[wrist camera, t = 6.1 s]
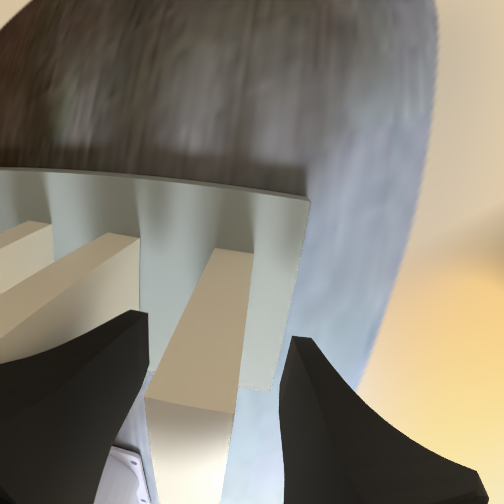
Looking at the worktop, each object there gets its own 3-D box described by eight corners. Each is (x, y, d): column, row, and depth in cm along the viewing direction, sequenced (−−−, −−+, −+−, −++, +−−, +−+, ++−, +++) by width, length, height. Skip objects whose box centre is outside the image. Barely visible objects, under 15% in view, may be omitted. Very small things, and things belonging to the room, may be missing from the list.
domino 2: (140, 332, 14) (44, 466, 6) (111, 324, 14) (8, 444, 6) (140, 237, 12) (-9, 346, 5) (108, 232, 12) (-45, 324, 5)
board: (270, 375, 16) (270, 391, 14) (-44, 292, 16) (-54, 299, 14) (307, 196, 13) (310, 201, 12) (-57, 167, 13) (-70, 170, 12)
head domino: (240, 348, 14) (217, 515, 6) (206, 343, 14) (159, 504, 6) (254, 253, 12) (235, 413, 5) (214, 248, 12) (144, 396, 5)
